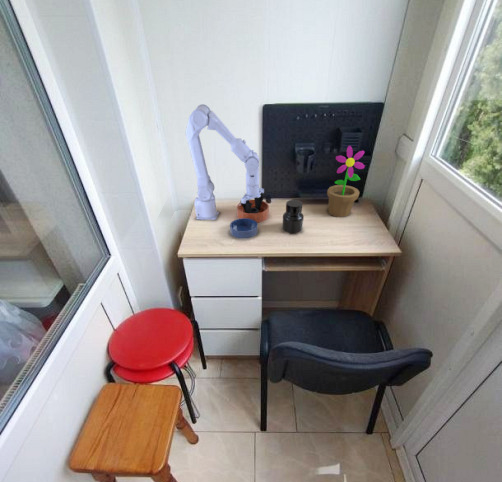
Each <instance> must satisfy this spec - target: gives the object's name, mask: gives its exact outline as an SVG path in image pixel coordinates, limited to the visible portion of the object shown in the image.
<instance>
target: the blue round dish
mask: <svg viewBox="0 0 502 482" xmlns="http://www.w3.org/2000/svg"><path fill="white" fill-rule="evenodd" d="M258 225H259V224H258V223H257V222H256V221H255V220H252V219H248V218H240V219H238V218H237V219H236V218H235V219H234V220H232V221H231V222H230V224H229V232H230V235H231V236H232V237H233V238H238V239H250V238H254V237H255V236H257V234H258V231H259V227H258Z"/></svg>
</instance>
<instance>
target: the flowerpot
mask: <svg viewBox="0 0 502 482" xmlns="http://www.w3.org/2000/svg"><path fill="white" fill-rule="evenodd" d="M364 154H365V151H364V150H360V151H358V152H357V153H355V154H354V152H353V147H352V146H351V145H348V146H347V149H346V156H347V158H346V157H345V156H343V155H336V156H335V160H336V161H337V162H338V163H342V165H340V166H339V167H338V168H337V170H336V173H337V174H342V173H343V172H344V171H346V172H345V177H344V180H343V179H337V180H336V181H335V180H334V184H336V185H332V186H329V188H328V189H327V191H326V196H327V197H328V208H327V211H328V214H329V215H331V216H334V217H338V218H345V217H348V216H349V215H350V214H351V211H352V208H353V206H354V203H355V201H357V200H358V198H359V196H360V190H359V189H358V188H356V187H354V186H351V185H347V182H348V180H349V181H351V182H357V181H360V180H361V178H360V177H359V175H358V174H356V173H354V168H355V169H358V170H363V169H365V167H366V165H365V164H364V163H363V162H360V161H359V160H360V159H361V158H362V157H363V156H364ZM353 155H354V156H353ZM353 166H354V168H353Z"/></svg>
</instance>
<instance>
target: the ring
mask: <svg viewBox="0 0 502 482" xmlns="http://www.w3.org/2000/svg"><path fill="white" fill-rule="evenodd" d="M254 213H258V209H257V208H251V214H254Z"/></svg>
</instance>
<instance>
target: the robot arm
mask: <svg viewBox="0 0 502 482" xmlns="http://www.w3.org/2000/svg"><path fill="white" fill-rule="evenodd" d="M206 127H207V128H206ZM205 128H206V129H207V130H208V131H215V132H216V133H217V134H218V135H220V136H221V137H222V138H223V139H224V140H225V141H226V142H227V144H229V145H230V150H231V152H232V153H233V154H234V155H235V156H236V157H237V158H238V159H239V160H240V161H241V162H242V163H243V164H244V167H245V191H246V192H245V194H244V195H243V196H242V197H241V198H240V202H239V203H241V205H242V206H243V208H244V211H245V213H251V206H252V204H253V203H250V202H249V200H255V208H257V209H258V210H260V208H261V204H262V201H264V199H265V197H266V195H265V194H264V193H265V188H262V187H260V172H259V171H260V157H259V155H258V153H257V152H255V151H254V149H252V148H250V147H249V146H248V144H247V141H246V140H245V139H242V138H238V137H236V136H235V135H234V134H233V133H232V132H231V130H230V129H229V128H228V127H227V125H225V123H224V122H223V121H222V120H221V118H220V117H219V116H218V115H217V114H216V113H215V112H214V111H213V110H212V109H210V107H209V106H208V105H206V104H199V105H198V106H197V107H196V108H195V109H194V110H193V111H192V112H191V114H190V115H189V117H188V121H187V126H186V129H185V137H186V141H187V144H188V148H189V152H190V157H191V159H192V163H193V167H194V171H195V175H196V178H197V179H196V180H197V181H196V182H197V183H196V185H197V197H195V198H194V210H195V215H196V218H195V219H196V220H201V221H202V220H211V221H212V220H213V221H216V220H217V218H218V216H219V214H220V211H217V204H216V195H215V194H214V191H215V184H214V182H213V181H212V178H211V176H210V175H209V172H208V168H207V163H206V159H205V154H204V151H203V146H202V142H201V139H200V138H201V137H200V134H201V132H202V131H203V130H204V129H205Z"/></svg>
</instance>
